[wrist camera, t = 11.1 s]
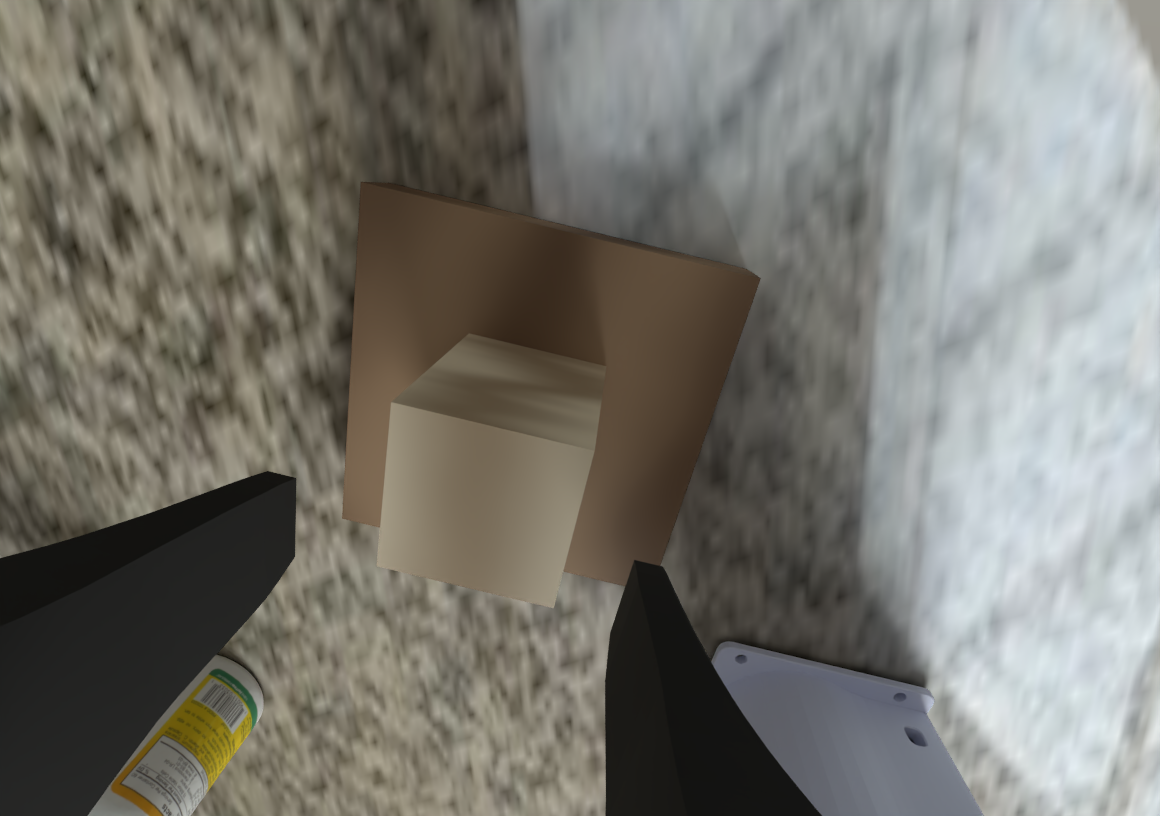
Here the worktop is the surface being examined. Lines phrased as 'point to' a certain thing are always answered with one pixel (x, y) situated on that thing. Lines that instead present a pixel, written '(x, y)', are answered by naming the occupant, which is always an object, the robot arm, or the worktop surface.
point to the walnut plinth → (547, 348)
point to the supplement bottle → (187, 745)
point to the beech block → (490, 468)
